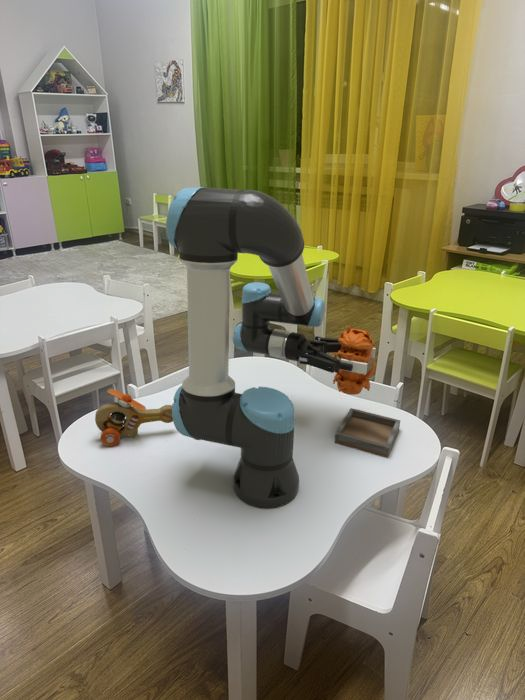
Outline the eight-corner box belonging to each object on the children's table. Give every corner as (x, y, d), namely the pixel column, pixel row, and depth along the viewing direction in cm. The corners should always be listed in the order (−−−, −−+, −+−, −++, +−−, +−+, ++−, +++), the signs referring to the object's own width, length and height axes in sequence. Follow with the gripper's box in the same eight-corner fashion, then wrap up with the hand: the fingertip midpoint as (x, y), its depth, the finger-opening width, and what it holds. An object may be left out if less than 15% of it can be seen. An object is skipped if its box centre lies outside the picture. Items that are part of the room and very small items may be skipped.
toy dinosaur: (323, 393, 124) (329, 329, 117) (336, 377, 133) (342, 316, 126) (365, 404, 120) (374, 338, 113) (375, 385, 129) (384, 323, 122)
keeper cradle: (387, 457, 120) (389, 448, 119) (334, 442, 126) (335, 433, 125) (398, 429, 132) (400, 420, 131) (349, 416, 137) (350, 408, 136)
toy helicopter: (100, 430, 130) (93, 386, 124) (177, 422, 134) (174, 379, 128) (97, 448, 122) (89, 402, 116) (179, 439, 126) (175, 394, 121)
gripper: (301, 343, 140) (377, 357, 132) (272, 374, 121) (359, 393, 113) (302, 319, 137) (380, 332, 129) (273, 347, 118) (362, 365, 110)
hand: (370, 360), depth 121 cm, fingers closed on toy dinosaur, 9 cm apart
